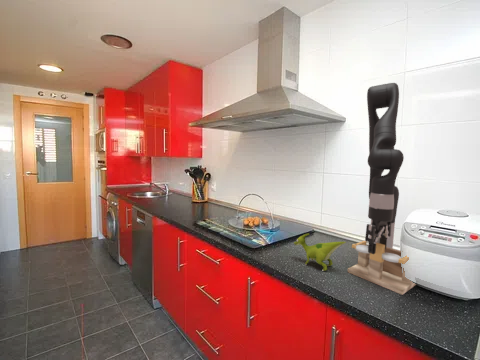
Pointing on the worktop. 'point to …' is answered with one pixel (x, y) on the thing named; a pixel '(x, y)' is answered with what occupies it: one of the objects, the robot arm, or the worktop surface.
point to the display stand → (382, 272)
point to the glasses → (380, 253)
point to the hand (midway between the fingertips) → (377, 250)
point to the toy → (319, 251)
